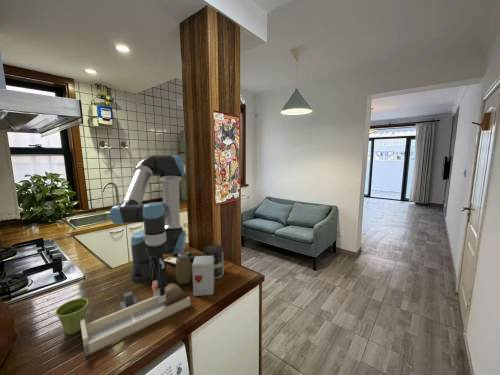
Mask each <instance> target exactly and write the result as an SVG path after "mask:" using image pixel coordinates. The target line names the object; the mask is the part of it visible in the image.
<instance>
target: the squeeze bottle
mask: <svg viewBox="0 0 500 375" xmlns="http://www.w3.org/2000/svg"><path fill="white" fill-rule="evenodd" d="M188 255H189V254H188V252H185V246H184V247H181V250H180V253H177V258H176V260H175V271H174V272H175V275H174V276H175V279H176V281H177V284H179V285H186V284H188V283H190V282H191V279H192V277H193V273H192V264H191V259H190V257H189V256H188Z"/></svg>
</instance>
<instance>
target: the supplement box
mask: <svg viewBox="0 0 500 375" xmlns="http://www.w3.org/2000/svg"><path fill="white" fill-rule="evenodd" d="M191 270H192V294H193V297H195V296H197V297H199V296H211V295H212V296H213V295H214V290H215V279H214V256H204V255H196V256H194V258H193V262H192V264H191Z"/></svg>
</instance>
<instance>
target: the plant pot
mask: <svg viewBox="0 0 500 375" xmlns="http://www.w3.org/2000/svg"><path fill="white" fill-rule="evenodd" d="M89 302H90V301H89V300H88V298H85V297H81V298H75V299H71V300H69V301H67V302H64V303H63V304H61V305H60V306H58V308H57V309H56V310H55V311H54V313H55V314H54V315H55V316H57V318H58V319H59V322H60V323H61V326H62V328H63V331H64V333H65V334H66V335H71V334H72V335H73V334H75V333H76V334H77V333H78V332H79V331H81V324H80V320H81V319H84V320H85V324H87V308H88V305H89Z"/></svg>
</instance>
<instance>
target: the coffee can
mask: <svg viewBox="0 0 500 375" xmlns="http://www.w3.org/2000/svg"><path fill="white" fill-rule="evenodd" d="M202 251H203V256H214V280H217V279H220V278H222V277H223V276H224V273H225V272H224V247H223V246H222V245H218V244H211V245H207V246H205V247H203V250H202Z"/></svg>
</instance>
